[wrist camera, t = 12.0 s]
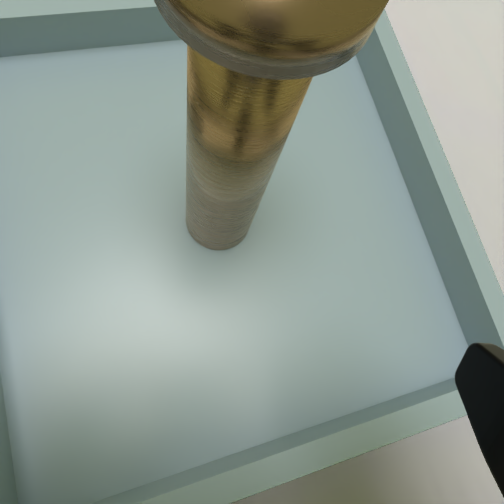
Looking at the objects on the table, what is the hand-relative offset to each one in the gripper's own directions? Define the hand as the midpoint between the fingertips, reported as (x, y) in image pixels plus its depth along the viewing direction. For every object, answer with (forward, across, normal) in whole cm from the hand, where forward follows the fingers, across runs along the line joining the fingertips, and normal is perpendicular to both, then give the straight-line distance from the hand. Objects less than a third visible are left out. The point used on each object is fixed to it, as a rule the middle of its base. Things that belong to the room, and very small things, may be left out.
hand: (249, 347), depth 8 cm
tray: (+12, 0, +3) cm, 13 cm away
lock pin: (+12, 0, +2) cm, 12 cm away
